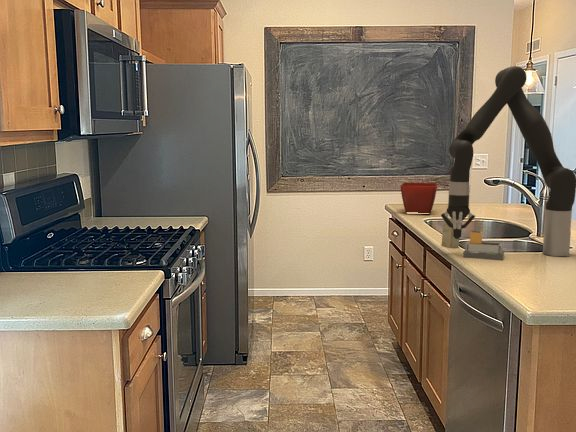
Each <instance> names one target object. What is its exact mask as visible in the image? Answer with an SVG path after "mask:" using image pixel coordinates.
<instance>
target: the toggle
mask: <svg viewBox="0 0 576 432" xmlns="http://www.w3.org/2000/svg"><path fill="white" fill-rule="evenodd" d="M469 233H470V234H469V236H470V237H469V241H470V243H471V244H482V242H483V234H484V233H483V231H482V230H480V229H479V230H477V229H472V230H471V231H470V232H469Z"/></svg>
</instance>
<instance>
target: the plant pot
mask: <svg viewBox="0 0 576 432" xmlns="http://www.w3.org/2000/svg"><path fill="white" fill-rule="evenodd" d="M438 185H439V184H438V182H403V183H402V184H400V192H401V199H402V203H403V207H404V210H405V213H406V212H418V213H430V214H431V213H432V211H433V207H434V203H435V199H436V195H437V189H438ZM431 210H432V211H431Z"/></svg>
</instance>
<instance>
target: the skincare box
mask: <svg viewBox="0 0 576 432" xmlns="http://www.w3.org/2000/svg"><path fill="white" fill-rule="evenodd" d="M448 219H449V220H450V221H451V223H452V224H453V219H452V218H451V217H450V216H449V215H448ZM458 221H459V220H457V229H458ZM441 246H443V247H446V248H449V249H456V248H460V247H459V246H460V238H459V239H455V237H453V228H451V227H449V226H448V225H447V223H446V222H445V221H444V219H443V218H442V234H441Z"/></svg>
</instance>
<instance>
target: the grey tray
mask: <svg viewBox="0 0 576 432" xmlns="http://www.w3.org/2000/svg"><path fill="white" fill-rule="evenodd" d="M503 247H504V245H503V242H492V241H491V242H490V241H482V244H471V243H470V240H467V241H466V243H465V249H464V250H463V252H462V257H463V258H469V259H470V258H471V259H482V260H493V261H494V260H495V261H504V257H505V250H503Z"/></svg>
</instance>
